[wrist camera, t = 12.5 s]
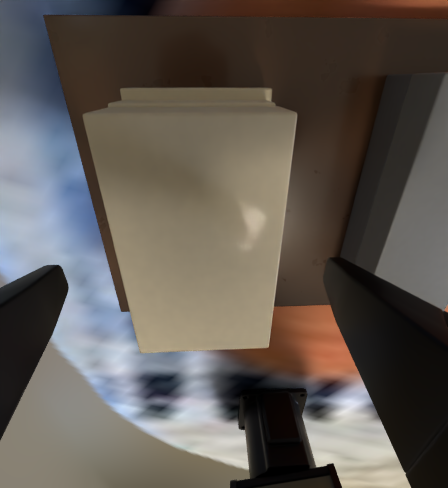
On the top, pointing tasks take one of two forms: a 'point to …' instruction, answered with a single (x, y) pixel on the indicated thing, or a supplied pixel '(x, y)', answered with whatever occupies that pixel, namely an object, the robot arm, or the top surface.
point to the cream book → (196, 218)
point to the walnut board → (283, 95)
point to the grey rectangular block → (405, 190)
